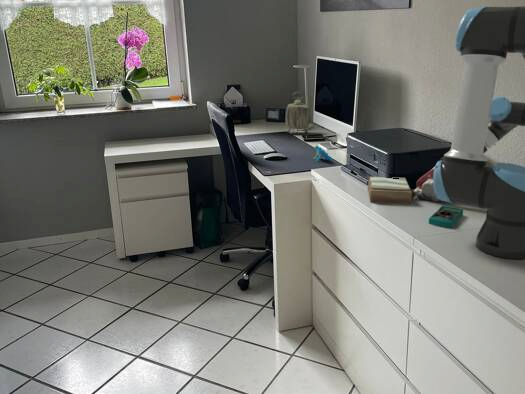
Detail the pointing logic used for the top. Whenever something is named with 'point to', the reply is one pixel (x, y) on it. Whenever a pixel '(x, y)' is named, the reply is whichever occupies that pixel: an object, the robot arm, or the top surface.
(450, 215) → the digital multimeter
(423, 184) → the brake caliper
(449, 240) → the top surface
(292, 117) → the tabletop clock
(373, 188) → the walnut stand
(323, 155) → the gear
